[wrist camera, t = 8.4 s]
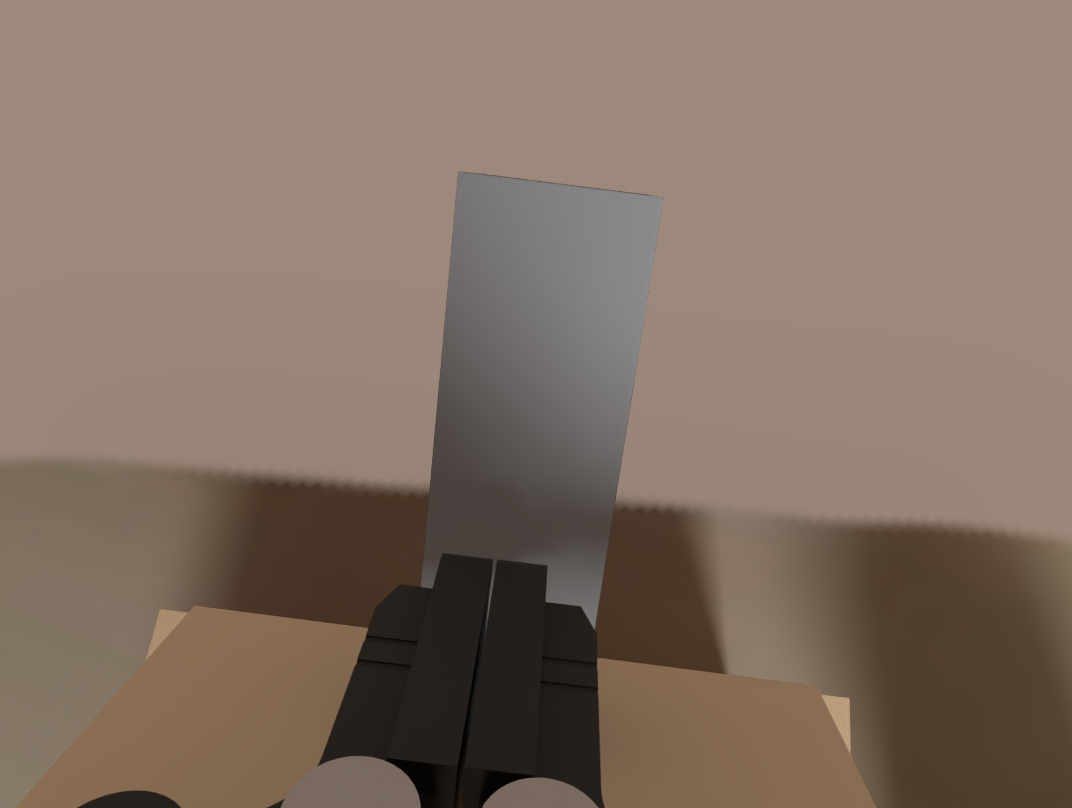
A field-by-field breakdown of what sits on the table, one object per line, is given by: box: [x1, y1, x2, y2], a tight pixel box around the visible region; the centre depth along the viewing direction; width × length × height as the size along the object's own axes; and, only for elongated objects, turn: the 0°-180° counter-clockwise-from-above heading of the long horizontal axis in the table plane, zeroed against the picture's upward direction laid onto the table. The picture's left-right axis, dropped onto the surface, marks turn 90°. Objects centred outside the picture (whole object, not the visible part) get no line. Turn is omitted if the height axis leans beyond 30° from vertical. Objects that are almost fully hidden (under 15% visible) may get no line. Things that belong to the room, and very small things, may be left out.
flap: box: [16, 172, 876, 808], centre depth 13 cm, size 14×6×11 cm
